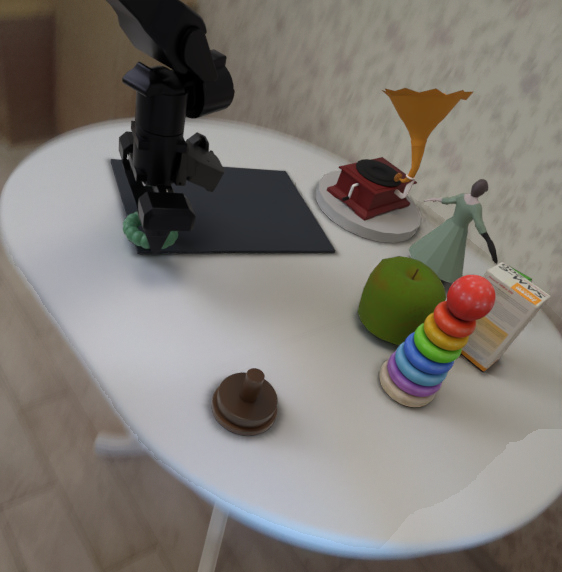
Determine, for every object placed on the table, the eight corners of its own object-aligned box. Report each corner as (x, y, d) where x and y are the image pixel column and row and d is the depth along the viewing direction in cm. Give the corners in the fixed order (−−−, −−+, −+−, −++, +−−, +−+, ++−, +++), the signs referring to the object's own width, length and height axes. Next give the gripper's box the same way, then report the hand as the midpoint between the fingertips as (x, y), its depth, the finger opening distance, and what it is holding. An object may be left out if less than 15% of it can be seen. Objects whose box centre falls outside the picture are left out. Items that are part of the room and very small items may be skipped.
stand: (221, 440, 55) (232, 408, 51) (203, 386, 60) (212, 351, 55) (285, 430, 59) (300, 398, 54) (263, 379, 63) (276, 346, 58)
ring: (127, 252, 69) (127, 240, 67) (117, 218, 73) (118, 206, 71) (183, 252, 72) (184, 240, 70) (171, 220, 76) (172, 208, 74)
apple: (430, 355, 74) (470, 299, 66) (364, 352, 71) (397, 293, 63) (404, 302, 81) (438, 246, 73) (342, 297, 78) (370, 238, 70)
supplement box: (497, 360, 78) (553, 296, 68) (482, 373, 75) (539, 307, 65) (455, 326, 80) (503, 259, 71) (439, 337, 78) (487, 269, 68)
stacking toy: (365, 381, 67) (434, 269, 54) (395, 354, 72) (465, 246, 59) (414, 420, 65) (498, 313, 51) (441, 390, 70) (525, 285, 56)
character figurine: (479, 300, 87) (547, 208, 74) (454, 315, 82) (522, 219, 69) (411, 245, 93) (462, 151, 80) (383, 256, 88) (433, 157, 75)
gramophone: (436, 228, 100) (512, 96, 81) (371, 253, 88) (444, 105, 69) (362, 172, 107) (416, 39, 89) (293, 188, 95) (340, 38, 77)
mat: (137, 253, 72) (137, 251, 71) (110, 161, 85) (110, 158, 84) (334, 253, 85) (335, 250, 84) (285, 173, 98) (285, 170, 98)
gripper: (246, 171, 59) (222, 277, 70) (205, 96, 69) (189, 198, 81) (149, 165, 54) (140, 279, 66) (119, 85, 65) (116, 195, 76)
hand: (149, 234), depth 72 cm, fingers closed on ring, 7 cm apart
